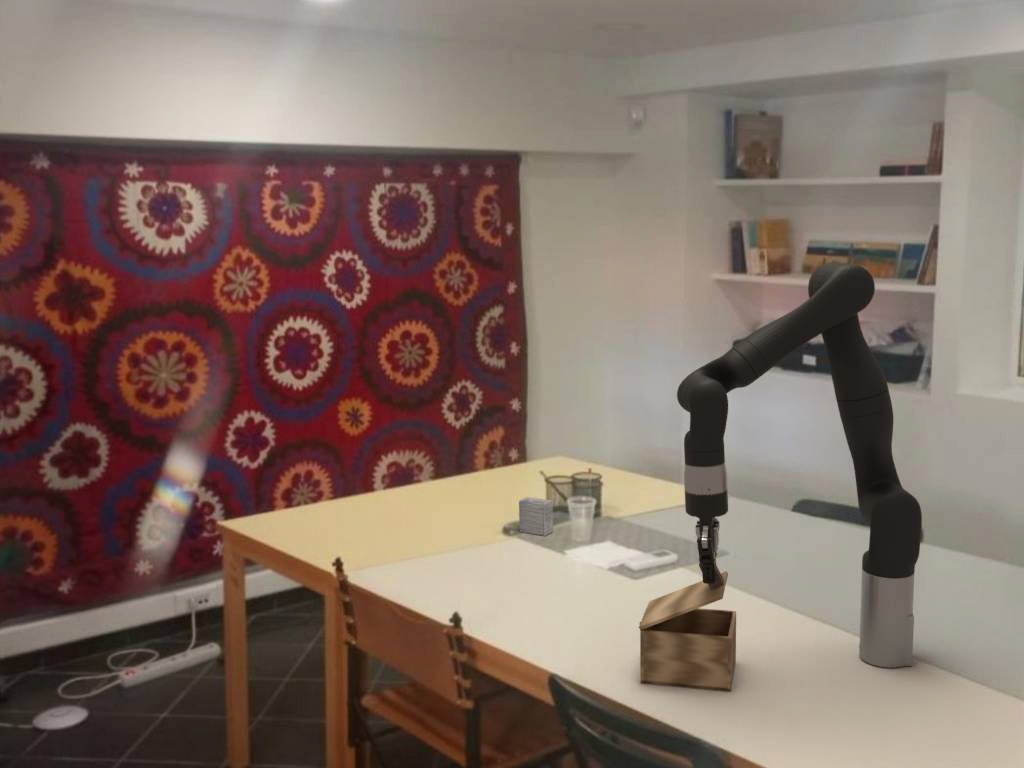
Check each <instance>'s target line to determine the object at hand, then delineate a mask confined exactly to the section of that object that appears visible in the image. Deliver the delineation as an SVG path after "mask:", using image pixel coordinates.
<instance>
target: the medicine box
mask: <svg viewBox="0 0 1024 768" xmlns="http://www.w3.org/2000/svg"><path fill="white" fill-rule="evenodd" d="M553 510H554V509H553V500H550V499H543V498H538V497H530V496H529V497H528V496H527V497H524V498H522V499H520V500H518V511H519V512H518V514H519V515H518V519H519V521H518V522H519V533H525V534H529V535H530V534H532V535H538V536H543V537H546V536H548V535H550V534H552V533H553V532H554V520H553V519H554V518H553V517H554V515H553V514H554V513H553Z"/></svg>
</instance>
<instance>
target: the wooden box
mask: <svg viewBox="0 0 1024 768" xmlns="http://www.w3.org/2000/svg"><path fill="white" fill-rule="evenodd" d="M639 631H640V633H639V634H640V635H639V636H640V637H639V639H640V641H639V642H640V651H639V652H640V655H639V656H640V658H639V659H640V664H639V665H640V668H639V669H640V676H639V677H640V680H639V681H640V684H644V685H655V686H665V687H674V688H675V687H676V688H687V689H696V690H697V689H698V690H706V691H707V690H708V691H719V692H728V693H730V692H731V691H732V686H733V681H734V680H733V679H734V674H735V669H736V660H737V657H736V656H737V610H728V609H727V610H725V609H713V608H712V609H711V608H702V607H700V608H697V609H695V610H692V611H689V612H687V613H684V614H681V615H679V616H676V617H674V618H671V619H668V620H666V621H663V622H660V623H658V624H655V625H653V626H650V627H647V628H645V629H642V630H640V629H639Z"/></svg>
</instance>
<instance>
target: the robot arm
mask: <svg viewBox="0 0 1024 768" xmlns="http://www.w3.org/2000/svg"><path fill="white" fill-rule="evenodd" d="M874 280H875V279H874V277H873V275H872V274H871V272H870V271H869V270H868V269H866V268H865V267H864V266H861V265H859V264H855V263H849V262H827V263H822V264H821V265H819V266H818V267H817V268H815V269H814V270H813V272H812V274H811V275H810V277H809V281H808V286H807V287H808V288H807V290H808V291H807V293H808V299H807V300H805V302H803V303H801V304H800V305H799V306H798V307H796V308H795V309H793V310H792V311H790V312H788V313H786V314H784V315H783V316H780V317H779V318H777V319H775V320H772V321H771V322H769V323H766V324H765V325H762V326H761V327H760V328H758V329H757V330H754V331H753V332H751V333H750V334H749V335H747V336H746V337H744V338H743V339H742V340H741V341H740V342H737V344H735V345H734V346H733V347H731V348H730V349H728V350H727V352H725V353H724V354H723V355H721V356H719V357H717V358H716V359H713V360H711V361H709V362H708V363H706V364H704V365H702V366H700V367H699V368H697V369H695V370H694V371H692V372H691V373H690V374H687V376H686V377H685V378H684V379H683V380H682V381H681V382H680V384H679V385H678V388H677V392H676V398H677V399H676V400H677V402H678V404H679V406H680V407H681V408H683V410H685V411H686V412H688V413H689V420H690V421H689V430H688V431H686V433H685V435H684V438H683V439H684V440H683V441H684V442H683V449H684V452H683V453H684V472H683V473H684V474H683V481H684V503H685V504H684V505H685V507H684V508H685V513H686V514H687V515H688V516H690V517H695V518H697V519H698V520H696V524H695V536H696V538H697V539H696V543H697V545H696V546H697V551H698V561H699V562H700V563H702V571H701V572H702V581H703V583H705V584H714V583H715V563H716V564H717V557H718V552H717V551H718V549H719V543H720V537H719V535H720V534H719V533H720V532H719V531H720V528H721V527H720V526H721V525H720V521H719V520H718V518H719V517H723V516H724V515H726V514H728V512H729V496H728V495H729V492H728V491H729V490H728V473H727V469H726V468H727V467H726V461H725V460H726V457H725V440H724V438H725V433H726V428H727V421H728V415H729V414H728V413H729V398H728V393H730V392H731V391H733V390H735V389H738V388H739V389H740V388H745V387H748V386H749V385H751V384H752V383H754V382H756V380H758V379H759V378H761V377H762V376H764V374H766V373H768V372H769V371H770V370H771V369H772V368H774V367H775V366H776V365H778V364H779V363H780V362H782V361H783V360H784V359H786V358H787V357H789V355H790V354H792V353H793V352H795V351H796V350H798V349H799V348H800V347H803V346H804V345H805V344H807V343H808V342H809V341H811V340H813V339H815V338H816V337H818V336H819V335H821V337H822V340H823V343H824V347H825V352H826V357H827V362H828V367H829V372H830V375H831V381H832V384H833V388H834V389H833V390H834V394H835V395H834V396H835V400H836V403H837V408H838V413H839V417H840V420H841V423H842V424H841V425H842V428H843V431H844V435H845V439H846V442H847V446H848V450H849V453H850V455H851V456H850V457H851V460H852V463H853V468H854V478H855V484H856V493H857V494H856V495H857V502H858V508H859V513H860V515H861V517H862V520H863V521H864V522H865V523H866V524H867V525H868V526H869V527H870V529H869V543H868V549H867V550H866V551H864V553H863V554H862V559H861V561H862V563H861V587H860V588H861V590H860V592H861V593H860V615H859V619H860V620H859V644H858V647H859V648H858V649H859V650H858V656H859V658H860V659H861V660H862V661H863V662H865V663H867V664H869V665H872V666H876V667H881V668H891V669H892V668H893V669H895V668H903V667H912V666H913V657H914V656H913V653H914V652H913V650H914V628H915V627H914V626H915V616H914V596H915V595H914V592H915V573H916V571H915V570H916V564H917V562H918V559H919V557H920V552H921V550H920V549H921V538H922V527H923V526H922V524H923V514H922V508H921V505H920V503H919V501H918V499H916V497H915V496H914V495H912V494H911V493H910V492H909V491H907V490H905V489H904V487H903V486H902V484H901V481H900V478H899V476H898V472H897V468H896V465H895V461H894V457H893V450H892V449H893V446H892V445H893V434H894V410H893V409H894V408H893V402H892V400H891V399H892V398H891V394H890V391H889V390H890V389H889V385H888V382H887V379H886V375H885V374H884V371H883V370H882V368H881V366H880V364H879V361H878V360H877V357H876V356H875V355H874V353H873V351H872V350H871V348H870V346H869V345H868V343H867V341H866V338H865V337H864V334H863V331H862V328H861V324H860V319H859V314H858V313H861V312H862V311H864V310H865V309H866V308H867V307H868V306H869V304H870V303H871V302H872V300H873V298H874V296H875V295H874V294H875V289H876V285H875V281H874ZM717 517H718V518H717Z"/></svg>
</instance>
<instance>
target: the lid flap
mask: <svg viewBox="0 0 1024 768" xmlns="http://www.w3.org/2000/svg"><path fill="white" fill-rule="evenodd" d="M698 566H699V569H700V571H701V572H702V563H700V561H699V563H698ZM728 576H729V572H728V571H724V572H721V571H720V569H719V567H718V566H717V562H716V563H715V583H714V584H705V583H703V580H701V581H698V582H695V583H693V584H691V585H688V586H686V587H683V588H681V589H677V590H674V591H672V592H669V593H666V594H664V595H662V596H660V597H656V598H654V599H651V600H649V601H648V604H647V606H646V609H645V611H644V613H643V616H642V618H641V621H640V622H641V623H640V622H639V626H638V628H639V631H640V630H642V629H645V628H647V627H650V626H653V625H655V624H658V623H660V622H663V621H666V620H668V619H671V618H674V617H676V616H679V615H681V614H684V613H687V612H689V611H692V610H695V609H697V608H702V607H705V606H708V605H710V604H713V603H715V602H718V601H721V600H723V598H724V594H725V590H726V586H727V580H728Z"/></svg>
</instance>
